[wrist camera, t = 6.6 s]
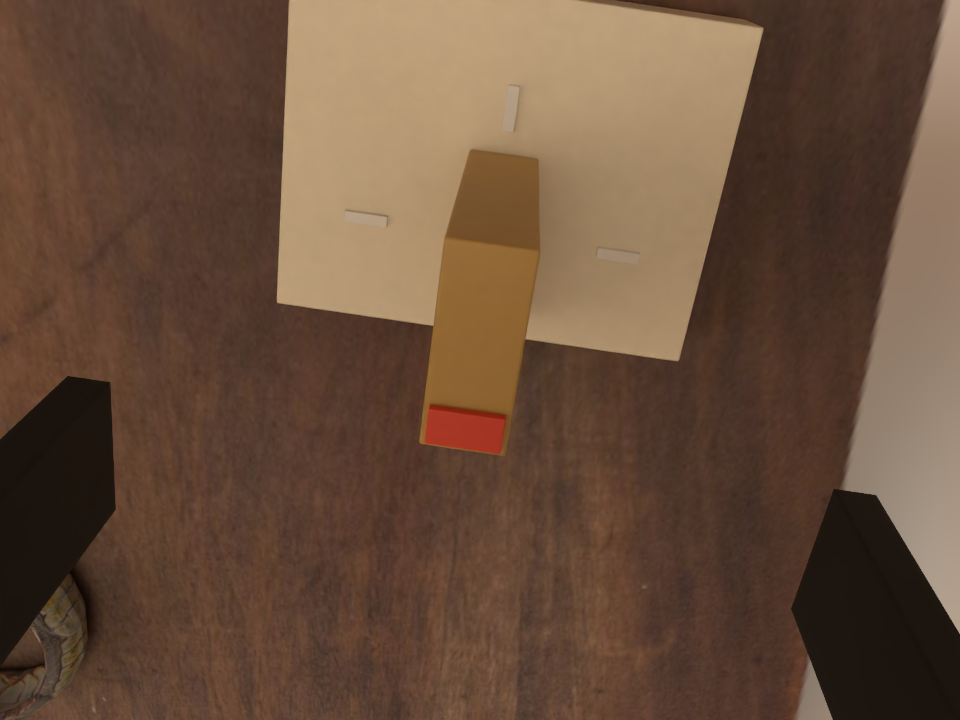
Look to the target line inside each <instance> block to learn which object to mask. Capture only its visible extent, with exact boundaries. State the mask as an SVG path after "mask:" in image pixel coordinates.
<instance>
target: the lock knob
mask: <svg viewBox="0 0 960 720" xmlns="http://www.w3.org/2000/svg"><path fill="white" fill-rule="evenodd" d="M539 258H540V208H539V161H538V159H534V158H527V157H520V156H513V155H507V154H500V153H493V152H486V151H480V150H473V149H472V150H470V151H469V154H468V158H467V161H466V165H465V168H464V172H463V175H462V179H461V182H460V186H459V189H458V193H457V196H456V200H455V203H454V207H453V210H452V213H451V217H450V220H449V224H448V227H447V231H446V234H445V238H444V245H443V253H442V261H441V269H440V277H439V285H438V293H437V301H436V309H435V317H434V325H433V333H432V341H431V350H430V358H429V366H428V374H427V382H426V390H425V398H424V406H423V414H422V422H421V430H420V438H419V441H420V443H421V444H426V445H433V446H439V447H446V448H453V449H460V450H467V451H474V452H481V453H488V454H495V455H502V456H503V455H505V453H506V449H507V443H508V437H509V431H510V425H511V420H512V414H513V408H514V402H515V397H516V391H517V385H518V379H519V373H520V368H521V362H522V356H523V350H524V344H525V339H526V333H527V327H528V321H529V316H530V310H531V304H532V298H533V292H534V287H535V281H536V275H537V269H538V263H539Z"/></svg>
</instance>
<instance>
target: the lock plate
mask: <svg viewBox="0 0 960 720" xmlns="http://www.w3.org/2000/svg"><path fill="white" fill-rule="evenodd" d="M762 34H763V28H762V27H760V26H758V25H756V24H754V23H752V22H749V21H747V20H745V19H738V18H731V17H725V16H718V15H711V14H705V13H698V12H691V11H685V10H678V9H671V8H665V7H658V6H651V5H644V4H638V3H631V2H624V1H618V0H289V18H288V42H287V67H286V91H285V115H284V139H283V163H282V188H281V212H280V236H279V260H278V284H277V303H281V304H288V305H295V306H302V307H309V308H316V309H322V310H329V311H336V312H343V313H350V314H357V315H364V316H370V317H377V318H384V319H391V320H398V321H405V322H412V323H418V324H425V325H432V326H433V325H434V317H435V309H436V301H437V293H438V285H439V277H440V269H441V261H442V253H443V245H444V238H445V234H446V231H447V227H448V224H449V220H450V217H451V213H452V210H453V207H454V203H455V200H456V196H457V193H458V189H459V186H460V182H461V179H462V175H463V172H464V168H465V165H466V161H467V158H468V154H469V151H470V150H472V149H473V150H480V151H486V152H493V153H500V154H507V155H513V156H520V157H527V158H534V159H538V161H539V208H540V258H539V263H538V269H537V275H536V281H535V287H534V292H533V298H532V304H531V310H530V316H529V321H528V327H527V333H526V339H528V340H535V341H542V342H549V343H556V344H562V345H569V346H576V347H583V348H590V349H597V350H604V351H610V352H617V353H624V354H631V355H638V356H645V357H652V358H658V359H665V360H672V361H679V358H680V354H681V350H682V346H683V342H684V339H685V335H686V331H687V327H688V323H689V319H690V315H691V311H692V307H693V303H694V299H695V296H696V292H697V288H698V284H699V280H700V276H701V272H702V268H703V264H704V260H705V256H706V253H707V249H708V245H709V241H710V237H711V233H712V229H713V225H714V221H715V217H716V213H717V210H718V206H719V202H720V198H721V194H722V190H723V186H724V182H725V178H726V174H727V170H728V167H729V163H730V159H731V155H732V151H733V147H734V143H735V139H736V135H737V131H738V127H739V124H740V120H741V116H742V112H743V108H744V104H745V100H746V96H747V92H748V88H749V84H750V80H751V77H752V73H753V69H754V65H755V61H756V57H757V53H758V49H759V45H760V41H761V37H762Z"/></svg>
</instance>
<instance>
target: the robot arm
mask: <svg viewBox="0 0 960 720" xmlns="http://www.w3.org/2000/svg"><path fill="white" fill-rule="evenodd" d="M115 510H116V509H115V485H114V461H113V437H112V413H111V389H110V382H104V381H98V380H91V379H84V378H77V377H70V376H67V377H66V378H65V379H64V380H63V381H62V382H61V383H60V384H59V385H58V386H57V387H56V388H55V389H54V390H52V391H51V392H50V393H49V394H48V395H47V396H46V397H45V398H44V399H43V400H42V401H41V402H40V403H39V404H38V405H36V406H35V407H34V408H33V409H32V410H31V411H30V412H29V413H28V414H27V415H26V416H25V417H24V418H23V419H22V420H21V421H19V422H18V423H17V424H16V425H15V426H14V427H13V428H12V429H11V430H10V431H9V432H8V433H7V434H6V435H5V436H3V437H2V438H1V439H0V666H1V665H2V663H3V662H4V661H5V659H6V658H7V657H8V655H9V654H10V652H11V651H12V650H13V648H14V647H15V646H16V644H17V643H18V642H19V640H20V639H21V637H22V636H23V635H24V633H25V632H26V631H27V629H28V628H29V627H30V625H31V624H32V623H33V621H34V620H35V618H36V617H37V616H38V614H39V613H40V612H41V610H42V609H43V608H44V606H45V605H46V603H47V602H48V601H49V599H50V598H51V597H52V595H53V594H54V593H55V591H56V590H57V589H58V587H59V586H60V584H61V583H62V582H63V580H64V579H65V578H66V576H67V575H68V574H69V572H70V571H71V569H72V568H73V567H74V565H75V564H76V563H77V561H78V560H79V559H80V557H81V556H82V554H83V553H84V552H85V550H86V549H87V548H88V546H89V545H90V544H91V542H92V541H93V540H94V538H95V537H96V535H97V534H98V533H99V531H100V530H101V529H102V527H103V526H104V525H105V523H106V522H107V520H108V519H109V518H110V516H111V515H112V514H113V512H114V511H115ZM791 609H792V612H793V615H794V617H795V620H796V623H797V625H798V628H799V631H800V633H801V636H802V639H803V641H804V644H805V647H806V649H807V652H808V655H809V657H810V660H811V663H812V665H813V668H814V671H815V673H816V676H817V679H818V681H819V684H820V687H821V689H822V692H823V694H824V697H825V700H826V703H827V705H828V708H829V711H830V713H831V716H832V718H833V720H960V634H959V632H958V630H957V629H956V627H955V626H954V624H953V622H952V620H951V619H950V617H949V615H948V614H947V612H946V611H945V609H944V607H943V606H942V604H941V602H940V601H939V599H938V597H937V596H936V594H935V592H934V591H933V589H932V587H931V586H930V584H929V582H928V581H927V579H926V577H925V576H924V574H923V572H922V571H921V569H920V567H919V566H918V564H917V562H916V561H915V559H914V557H913V556H912V554H911V552H910V551H909V549H908V548H907V546H906V544H905V542H904V541H903V539H902V538H901V536H900V534H899V533H898V531H897V529H896V528H895V526H894V524H893V523H892V521H891V519H890V518H889V516H888V514H887V513H886V511H885V509H884V508H883V506H882V504H881V503H880V501H879V499H878V498H877V496H876V495H871V494H864V493H858V492H850V491H844V490H837V489H834V490H833V493H832V496H831V499H830V502H829V504H828V507H827V510H826V513H825V516H824V518H823V521H822V524H821V527H820V530H819V532H818V535H817V538H816V541H815V544H814V546H813V549H812V552H811V555H810V558H809V560H808V563H807V566H806V569H805V572H804V574H803V577H802V580H801V583H800V586H799V588H798V591H797V594H796V597H795V600H794V602H793V605H792V608H791Z"/></svg>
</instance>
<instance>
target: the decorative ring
mask: <svg viewBox="0 0 960 720" xmlns="http://www.w3.org/2000/svg"><path fill="white" fill-rule="evenodd" d="M30 627H31V629H32V631H33V632H34V634H35V636H36V638H37V640H38V641H39V643H40V645H41V647H42V649H43V651H44V657H45V664H42V665H39V666H36V667H32V668H29V669H0V720H18V719H22V718H25V717H27V716H29V715H31V714H33V713H35V712H37V711H39V710H40V709H42V708H43V707H44V706H45V705H47V704H48V703H49V702H50V701H51V700H53V699H54V698H55V697H56V696H58V695H59V694H60V693H61V692H62V691H63V690H64V689H65V688H66V687H67V686H68V685H69V684H70V683H71V682H72V681H73V680H74V677H75V675H76V673H77V670H78V668H79V666H80V663H81V661H82V659H83V656H84V654H85V650H86V647H87V644H88V635H87V622H86V610H85V601H84V599H83V597H82V595H81V593H80V591H79V589H78V587H77V585H76V583H75V581H74V580H73V578H72V576H71V574H70V573H69V574H68V575H67V576H66V578H65V579H64V580H63V582H62V583H61V584H60V586H59V587H58V589H57V590H56V591H55V593H54V594H53V595H52V597H51V598H50V599H49V601H48V602H47V603H46V605H45V606H44V608H43V609H42V610H41V612H40V613H39V614H38V616H37V617H36V618H35V620H34V621H33V623H32V624H31V625H30Z"/></svg>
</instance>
